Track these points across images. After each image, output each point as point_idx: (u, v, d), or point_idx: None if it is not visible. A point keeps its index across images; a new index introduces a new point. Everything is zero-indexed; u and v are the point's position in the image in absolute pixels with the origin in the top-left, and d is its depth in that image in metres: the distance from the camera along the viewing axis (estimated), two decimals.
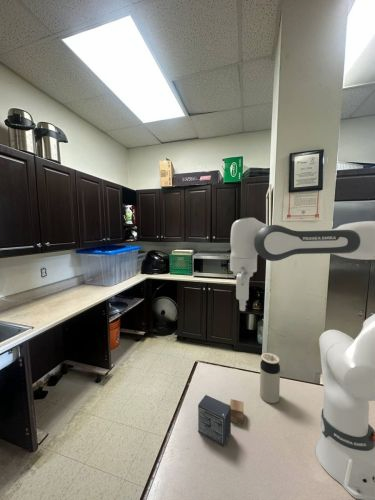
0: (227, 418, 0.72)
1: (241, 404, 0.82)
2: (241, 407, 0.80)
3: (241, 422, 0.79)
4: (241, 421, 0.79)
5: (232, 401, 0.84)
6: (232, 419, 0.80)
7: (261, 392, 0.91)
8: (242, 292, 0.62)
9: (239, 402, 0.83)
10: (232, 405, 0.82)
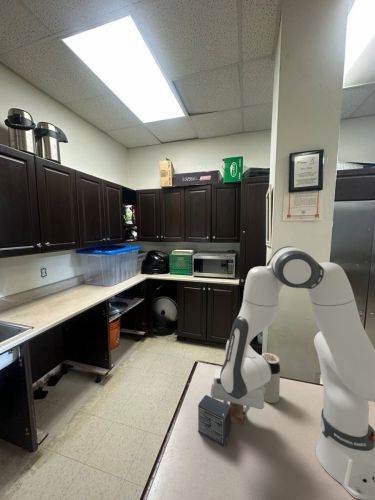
0: (227, 418, 0.72)
1: None
2: (241, 407, 0.80)
3: (241, 422, 0.79)
4: (241, 421, 0.79)
5: None
6: (232, 419, 0.80)
7: None
8: None
9: None
10: (232, 405, 0.82)
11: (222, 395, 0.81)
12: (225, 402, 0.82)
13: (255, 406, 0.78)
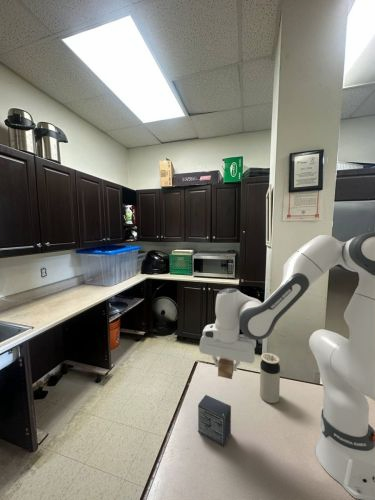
0: (227, 418, 0.72)
1: (231, 360, 0.78)
2: (231, 362, 0.77)
3: (230, 377, 0.75)
4: (230, 376, 0.75)
5: (222, 357, 0.80)
6: (221, 374, 0.76)
7: (261, 392, 0.91)
8: (254, 354, 0.74)
9: None
10: (221, 360, 0.78)
11: (211, 349, 0.78)
12: (214, 357, 0.78)
13: (245, 360, 0.74)
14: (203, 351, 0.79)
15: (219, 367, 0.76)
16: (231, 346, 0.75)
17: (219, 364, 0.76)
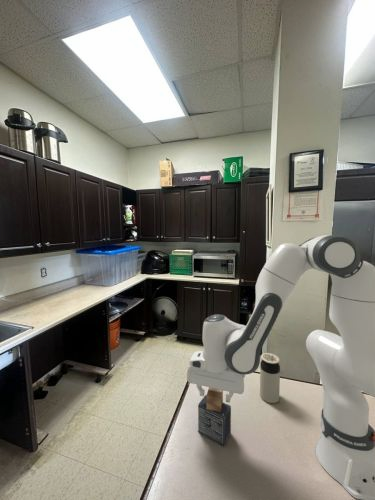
0: (227, 418, 0.72)
1: (220, 391, 0.75)
2: (220, 394, 0.73)
3: (219, 410, 0.72)
4: (219, 409, 0.72)
5: None
6: (209, 407, 0.73)
7: (261, 392, 0.91)
8: (243, 384, 0.71)
9: (218, 389, 0.76)
10: (210, 392, 0.75)
11: (199, 379, 0.74)
12: (198, 386, 0.75)
13: (234, 391, 0.71)
14: (191, 381, 0.75)
15: (207, 400, 0.73)
16: (219, 376, 0.72)
17: (207, 397, 0.73)
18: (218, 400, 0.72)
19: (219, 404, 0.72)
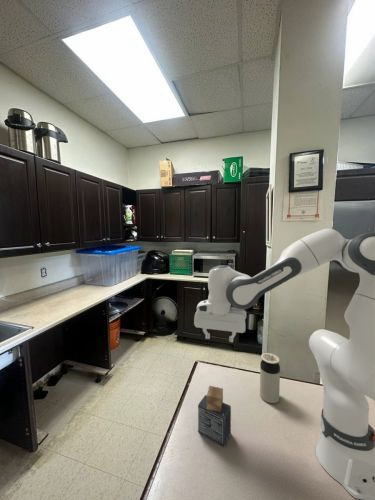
0: (227, 418, 0.72)
1: (220, 391, 0.75)
2: (220, 394, 0.73)
3: (219, 410, 0.72)
4: (219, 409, 0.72)
5: (211, 387, 0.77)
6: (210, 407, 0.73)
7: (261, 392, 0.91)
8: None
9: (218, 389, 0.76)
10: (210, 391, 0.75)
11: (205, 322, 0.83)
12: (204, 330, 0.84)
13: (237, 330, 0.79)
14: (198, 325, 0.84)
15: (208, 400, 0.73)
16: (223, 318, 0.81)
17: (207, 397, 0.73)
18: (218, 400, 0.72)
19: (219, 404, 0.72)
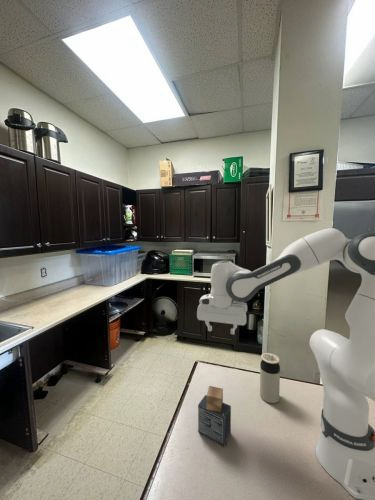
0: (227, 418, 0.72)
1: (220, 391, 0.75)
2: (220, 394, 0.73)
3: (219, 410, 0.72)
4: (219, 409, 0.72)
5: (211, 388, 0.77)
6: (209, 407, 0.73)
7: (261, 392, 0.91)
8: None
9: (218, 389, 0.76)
10: (210, 392, 0.75)
11: (207, 315, 0.86)
12: (207, 322, 0.88)
13: (238, 323, 0.83)
14: (200, 318, 0.87)
15: (207, 400, 0.73)
16: (225, 311, 0.84)
17: (207, 397, 0.73)
18: (218, 400, 0.72)
19: (219, 404, 0.72)
